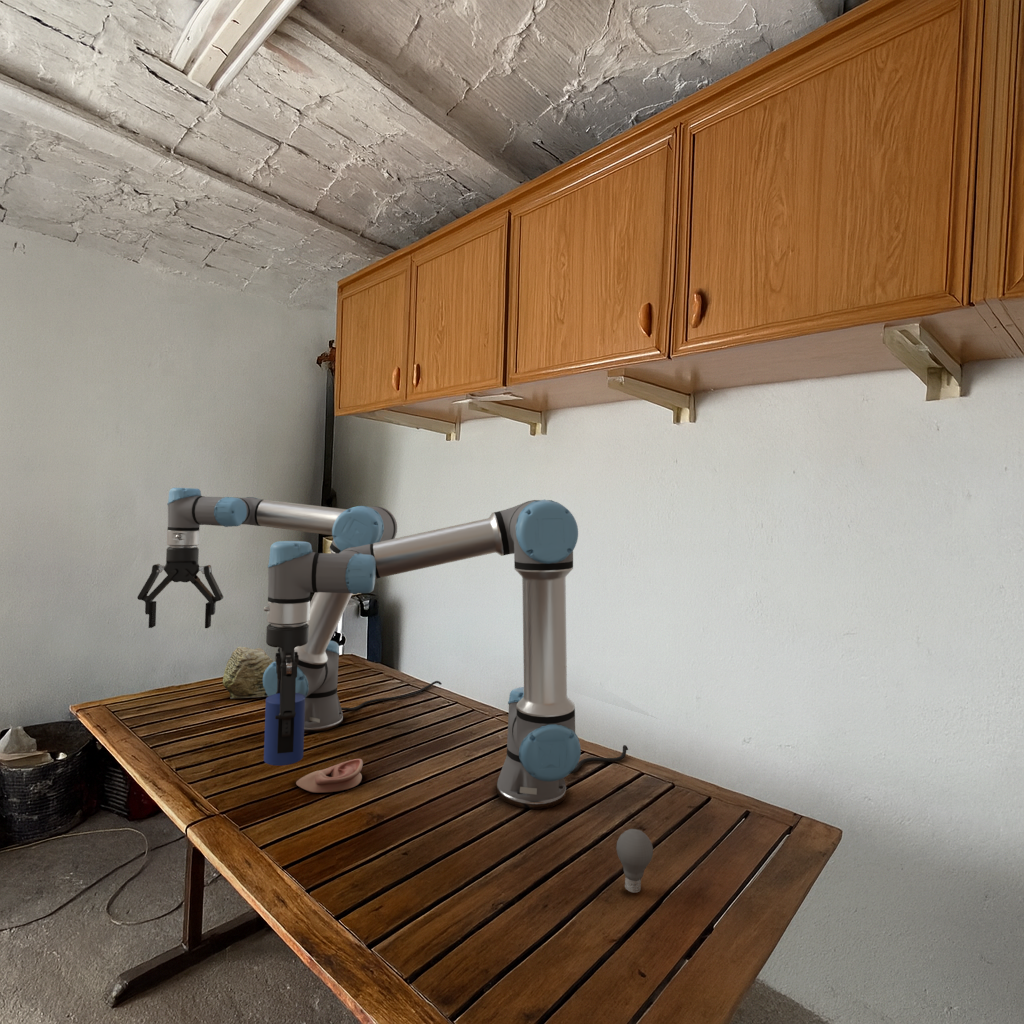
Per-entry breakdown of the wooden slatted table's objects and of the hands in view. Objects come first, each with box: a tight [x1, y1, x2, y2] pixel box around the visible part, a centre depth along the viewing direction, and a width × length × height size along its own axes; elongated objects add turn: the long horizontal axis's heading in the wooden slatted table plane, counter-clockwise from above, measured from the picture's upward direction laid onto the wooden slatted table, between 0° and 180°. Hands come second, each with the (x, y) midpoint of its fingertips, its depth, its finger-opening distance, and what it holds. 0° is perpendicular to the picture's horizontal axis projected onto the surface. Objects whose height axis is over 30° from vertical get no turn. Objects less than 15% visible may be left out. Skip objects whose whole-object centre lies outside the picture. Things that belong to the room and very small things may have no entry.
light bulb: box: [615, 828, 654, 894], centre depth 106 cm, size 6×6×10 cm
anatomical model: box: [295, 758, 364, 794], centre depth 140 cm, size 13×4×12 cm
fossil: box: [222, 646, 275, 699], centre depth 198 cm, size 9×18×15 cm, turn 132°
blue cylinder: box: [263, 693, 305, 767], centre depth 120 cm, size 7×7×11 cm
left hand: (180, 627), depth 167 cm, fingers open, 13 cm apart
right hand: (284, 743), depth 120 cm, fingers closed on blue cylinder, 7 cm apart
